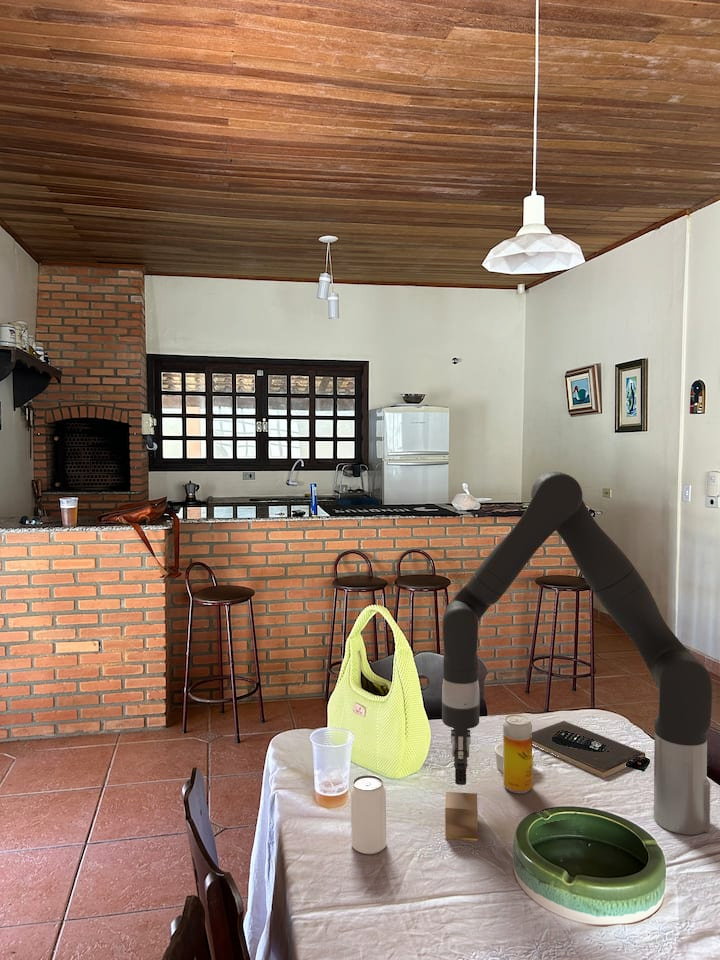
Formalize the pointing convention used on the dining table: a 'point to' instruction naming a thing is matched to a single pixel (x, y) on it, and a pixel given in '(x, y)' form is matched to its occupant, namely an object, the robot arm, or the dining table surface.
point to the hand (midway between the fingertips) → (460, 782)
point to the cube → (461, 816)
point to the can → (368, 814)
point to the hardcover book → (585, 759)
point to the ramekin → (500, 756)
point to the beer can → (517, 753)
